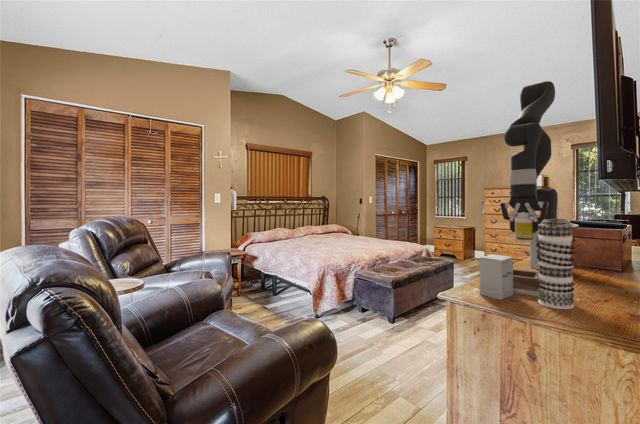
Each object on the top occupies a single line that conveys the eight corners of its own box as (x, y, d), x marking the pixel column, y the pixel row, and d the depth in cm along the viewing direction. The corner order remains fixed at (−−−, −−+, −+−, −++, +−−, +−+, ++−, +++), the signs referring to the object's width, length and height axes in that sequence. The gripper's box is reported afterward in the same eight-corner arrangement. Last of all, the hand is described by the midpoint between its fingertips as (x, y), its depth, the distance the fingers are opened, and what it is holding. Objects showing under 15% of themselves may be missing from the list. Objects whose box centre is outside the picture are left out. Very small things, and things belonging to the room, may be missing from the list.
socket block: (509, 283, 110) (508, 268, 110) (543, 288, 103) (543, 272, 103) (503, 291, 103) (502, 275, 102) (539, 296, 96) (539, 279, 96)
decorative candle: (540, 296, 96) (538, 217, 95) (578, 302, 89) (577, 218, 88) (532, 304, 90) (531, 220, 88) (573, 312, 83) (572, 221, 82)
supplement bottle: (536, 241, 102) (536, 212, 101) (518, 242, 103) (518, 213, 102) (529, 239, 107) (528, 212, 107) (512, 239, 108) (511, 212, 108)
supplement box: (502, 300, 95) (501, 260, 94) (479, 294, 101) (478, 256, 100) (514, 295, 98) (513, 256, 98) (491, 289, 105) (490, 253, 104)
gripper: (550, 182, 102) (551, 232, 103) (501, 184, 112) (502, 230, 112) (548, 181, 96) (548, 234, 97) (497, 184, 106) (497, 232, 107)
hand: (523, 232), depth 105 cm, fingers closed on supplement bottle, 5 cm apart
